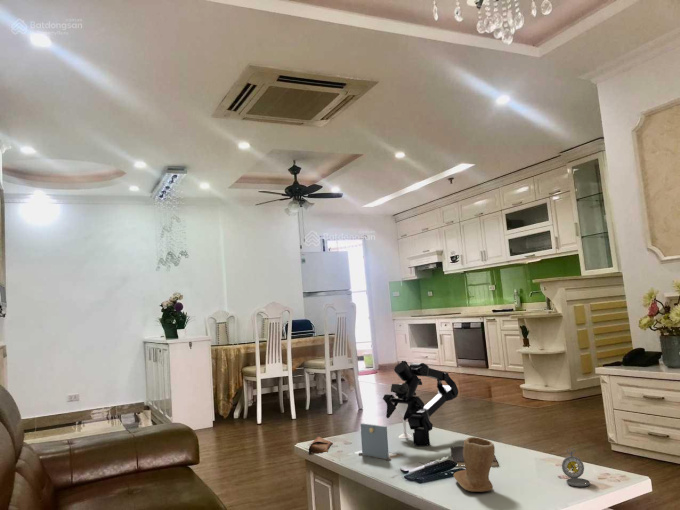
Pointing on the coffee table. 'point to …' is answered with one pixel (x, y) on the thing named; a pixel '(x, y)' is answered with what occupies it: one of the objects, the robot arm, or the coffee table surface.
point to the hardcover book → (458, 457)
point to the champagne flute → (402, 409)
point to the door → (374, 440)
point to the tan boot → (476, 465)
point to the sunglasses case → (319, 445)
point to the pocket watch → (570, 464)
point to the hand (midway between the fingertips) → (395, 418)
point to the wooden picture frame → (391, 456)
